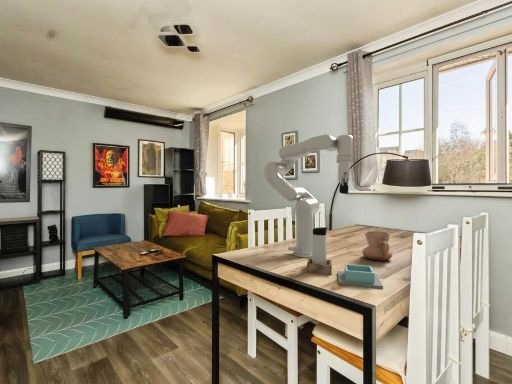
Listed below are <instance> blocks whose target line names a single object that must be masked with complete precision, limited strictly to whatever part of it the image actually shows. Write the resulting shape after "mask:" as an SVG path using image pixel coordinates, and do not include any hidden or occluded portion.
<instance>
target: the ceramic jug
mask: <svg viewBox="0 0 512 384" xmlns="http://www.w3.org/2000/svg"><path fill="white" fill-rule="evenodd" d="M364 235H365V240H366V242H367V245H368V246H366V247H364V248H363V249H362V251H361V253H362V256H363V257H365V258H367V259H369V260H372V261H378V262H380V261H381V262H383V261H388V260H390V259H391V258H392V257H393V252H392V251H391V250H390V243H389V240H390V236H391V234H390V232H389V231H384V230H383V231H381V230H365V232H364Z"/></svg>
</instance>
